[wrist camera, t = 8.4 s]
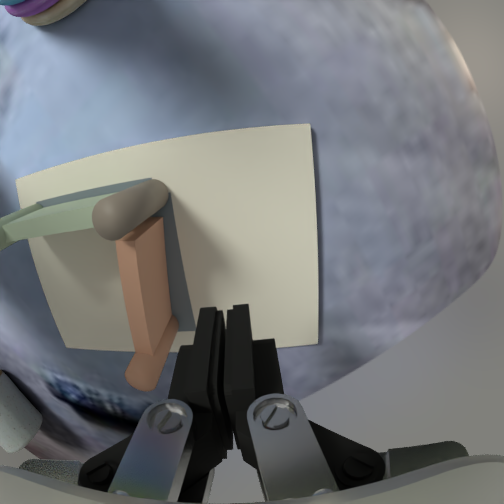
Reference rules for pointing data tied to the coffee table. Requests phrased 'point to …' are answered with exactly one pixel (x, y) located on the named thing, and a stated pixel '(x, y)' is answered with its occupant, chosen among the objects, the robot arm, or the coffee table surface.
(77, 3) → the stacking toy
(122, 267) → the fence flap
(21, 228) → the bar
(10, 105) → the coffee table surface
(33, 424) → the ceramic mug
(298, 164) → the board
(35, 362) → the coffee table surface
